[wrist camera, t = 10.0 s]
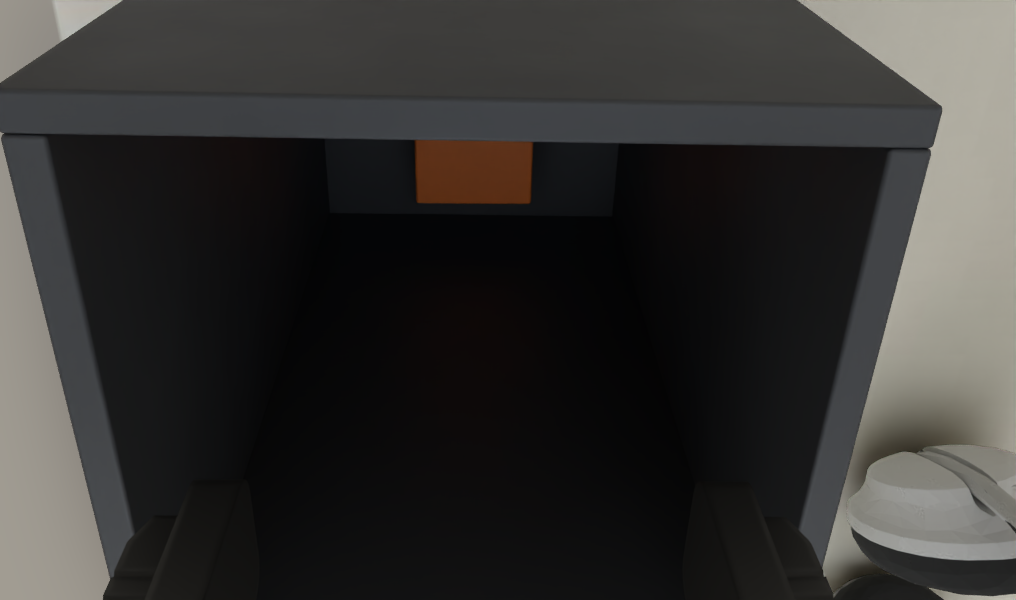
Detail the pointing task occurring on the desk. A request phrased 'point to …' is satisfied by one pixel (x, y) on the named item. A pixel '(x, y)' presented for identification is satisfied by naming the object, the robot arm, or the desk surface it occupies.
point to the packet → (473, 172)
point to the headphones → (936, 524)
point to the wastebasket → (465, 277)
